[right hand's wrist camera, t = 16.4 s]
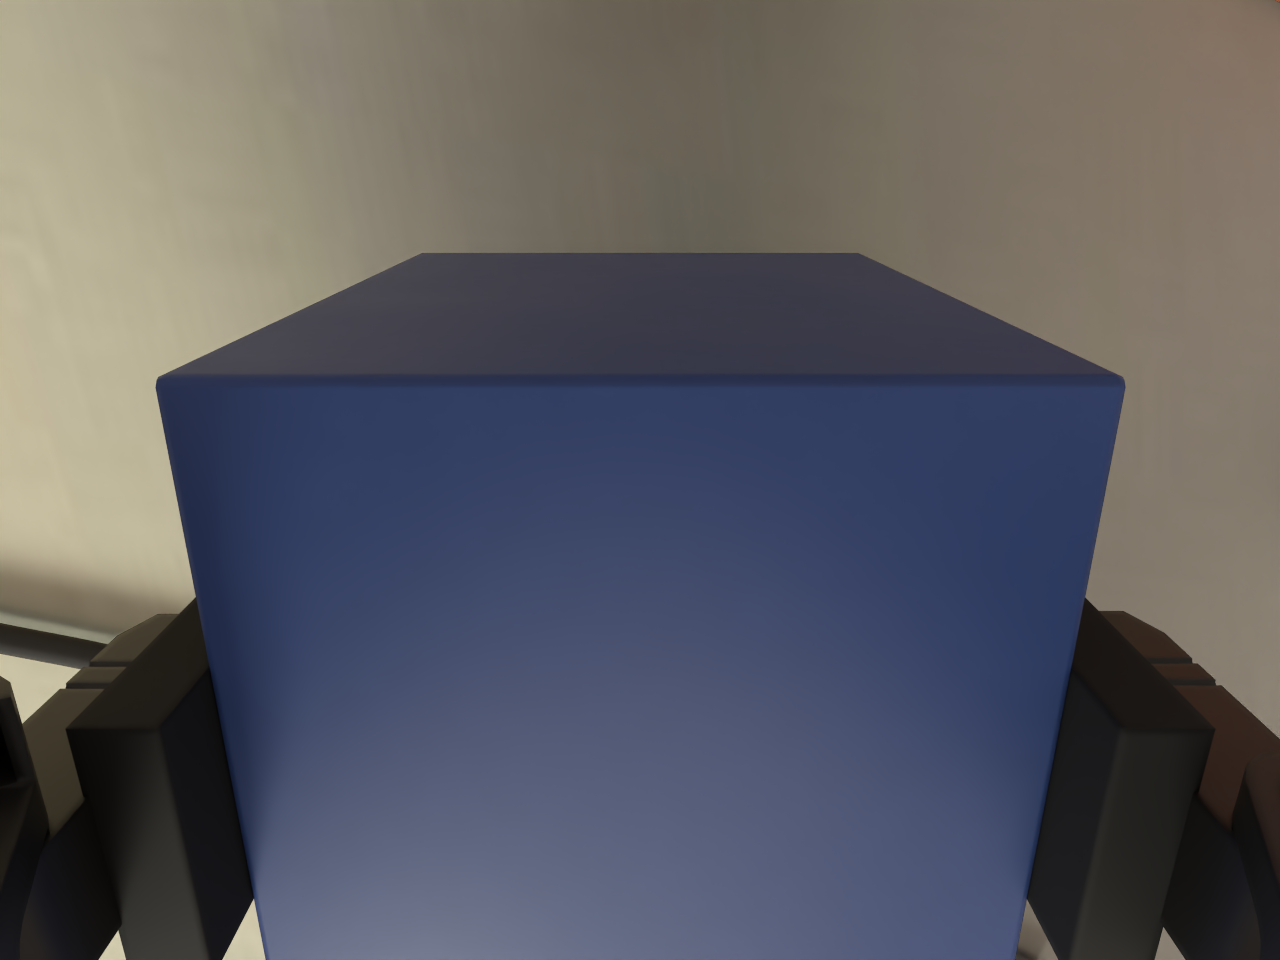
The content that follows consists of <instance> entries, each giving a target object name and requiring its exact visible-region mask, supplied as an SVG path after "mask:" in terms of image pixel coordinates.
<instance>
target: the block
mask: <svg viewBox="0 0 1280 960" xmlns="http://www.w3.org/2000/svg"><path fill="white" fill-rule="evenodd" d="M156 392H157V397H158V402H159V407H160V413H161V418H162V423H163V428H164V433H165V439H166V444H167V449H168V454H169V459H170V465H171V470H172V475H173V480H174V485H175V491H176V496H177V501H178V506H179V511H180V516H181V522H182V527H183V532H184V537H185V542H186V548H187V553H188V558H189V563H190V568H191V574H192V579H193V584H194V589H195V594H196V600H197V605H198V610H199V615H200V620H201V626H202V631H203V636H204V641H205V646H206V652H207V657H208V662H209V667H210V672H211V677H212V683H213V688H214V693H215V698H216V703H217V709H218V714H219V719H220V724H221V729H222V735H223V740H224V745H225V750H226V755H227V761H228V766H229V771H230V776H231V781H232V787H233V792H234V797H235V802H236V807H237V812H238V818H239V823H240V828H241V833H242V838H243V844H244V849H245V854H246V859H247V864H248V870H249V875H250V880H251V885H252V890H253V896H254V901H255V906H256V911H257V916H258V922H259V927H260V932H261V937H262V942H263V948H264V953H265V958H266V960H1015V957H1016V952H1017V947H1018V942H1019V936H1020V931H1021V926H1022V921H1023V916H1024V910H1025V905H1026V900H1027V895H1028V890H1029V884H1030V879H1031V874H1032V869H1033V864H1034V859H1035V853H1036V848H1037V843H1038V838H1039V833H1040V827H1041V822H1042V817H1043V812H1044V807H1045V802H1046V796H1047V791H1048V786H1049V781H1050V776H1051V770H1052V765H1053V760H1054V755H1055V750H1056V745H1057V739H1058V734H1059V729H1060V724H1061V719H1062V713H1063V708H1064V703H1065V698H1066V693H1067V688H1068V682H1069V677H1070V672H1071V667H1072V662H1073V656H1074V651H1075V646H1076V641H1077V636H1078V630H1079V625H1080V620H1081V615H1082V610H1083V605H1084V599H1085V594H1086V589H1087V584H1088V579H1089V573H1090V568H1091V563H1092V558H1093V553H1094V548H1095V542H1096V537H1097V532H1098V527H1099V522H1100V516H1101V511H1102V506H1103V501H1104V496H1105V491H1106V485H1107V480H1108V475H1109V470H1110V465H1111V459H1112V454H1113V449H1114V444H1115V439H1116V434H1117V428H1118V423H1119V418H1120V413H1121V408H1122V402H1123V397H1124V392H1125V382H1124V379H1123V377H1121V376H1119V375H1117V374H1115V373H1113V372H1111V371H1109V370H1107V369H1104V368H1102V367H1100V366H1098V365H1096V364H1094V363H1092V362H1089V361H1087V360H1085V359H1083V358H1081V357H1079V356H1077V355H1075V354H1072V353H1070V352H1068V351H1066V350H1064V349H1062V348H1060V347H1058V346H1055V345H1053V344H1051V343H1049V342H1047V341H1045V340H1043V339H1040V338H1038V337H1036V336H1034V335H1032V334H1030V333H1028V332H1026V331H1023V330H1021V329H1019V328H1017V327H1015V326H1013V325H1011V324H1008V323H1006V322H1004V321H1002V320H1000V319H998V318H996V317H994V316H991V315H989V314H987V313H985V312H983V311H981V310H979V309H976V308H974V307H972V306H970V305H968V304H966V303H964V302H962V301H959V300H957V299H955V298H953V297H951V296H949V295H947V294H944V293H942V292H940V291H938V290H936V289H934V288H932V287H930V286H927V285H925V284H923V283H921V282H919V281H917V280H915V279H912V278H910V277H908V276H906V275H904V274H902V273H900V272H898V271H895V270H893V269H891V268H889V267H887V266H885V265H883V264H881V263H878V262H876V261H874V260H872V259H870V258H868V257H866V256H863V255H861V254H859V253H421V254H419V255H417V256H415V257H413V258H411V259H409V260H406V261H404V262H402V263H400V264H398V265H396V266H394V267H391V268H389V269H387V270H385V271H383V272H381V273H379V274H377V275H374V276H372V277H370V278H368V279H366V280H364V281H362V282H360V283H357V284H355V285H353V286H351V287H349V288H347V289H345V290H343V291H340V292H338V293H336V294H334V295H332V296H330V297H328V298H326V299H323V300H321V301H319V302H317V303H315V304H313V305H311V306H309V307H306V308H304V309H302V310H300V311H298V312H296V313H294V314H292V315H289V316H287V317H285V318H283V319H281V320H279V321H277V322H274V323H272V324H270V325H268V326H266V327H264V328H262V329H260V330H257V331H255V332H253V333H251V334H249V335H247V336H245V337H243V338H240V339H238V340H236V341H234V342H232V343H230V344H228V345H226V346H223V347H221V348H219V349H217V350H215V351H213V352H211V353H209V354H206V355H204V356H202V357H200V358H198V359H196V360H194V361H192V362H189V363H187V364H185V365H183V366H181V367H179V368H177V369H175V370H172V371H170V372H168V373H166V374H164V375H162V376H160V377H158V379H157V382H156Z"/></svg>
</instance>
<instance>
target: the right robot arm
mask: <svg viewBox="0 0 1280 960" xmlns="http://www.w3.org/2000/svg"><path fill="white" fill-rule="evenodd" d="M0 654H5V655H10V656H15V657H20V658H26V659H31V660H36V661H41V662H47V663H52V664H57V665H62V666H67V667H72V668H77V669H81V670H80V671H79V672H78V673H77V674H76V675H75V676H73V677H72V678H71V679H70V680H69V681H68V682H67V683H66V689H59V690H58V691H57V692H56V693H55V694H54V695H53V696H52V697H51V698H50V699H49V700H48V701H47V702H45V703H44V704H43V705H42V706H41V707H40V708H39V709H38V710H37V711H36V712H35V713H34V714H33V715H31V716H30V717H29V718H28V719H27V720H26V721H25V722H24V723H23V724H22V722H21V719H20V715H19V712H18V708H17V704H16V701H15V697H14V694H13V690H12V687H11V683H10V682H9V681H7V680H6V679H4V678H3V677H1V676H0V960H98V959H99V958H100V956H101V955H102V954H103V952H104V951H105V949H106V948H107V946H108V945H109V943H110V942H111V940H112V939H113V937H114V936H115V934H116V933H117V931H118V930H119V934H120V938H121V942H122V945H123V949H124V953H125V957H126V960H222V959H223V957H224V955H225V953H226V951H227V949H228V947H229V945H230V944H231V942H232V940H233V938H234V936H235V934H236V932H237V930H238V928H239V926H240V924H241V922H242V920H243V918H244V916H245V914H246V913H247V911H248V909H249V907H250V905H251V903H252V901H253V899H254V896H253V890H252V885H251V880H250V875H249V870H248V864H247V859H246V854H245V849H244V844H243V838H242V833H241V828H240V823H239V818H238V812H237V807H236V802H235V797H234V792H233V787H232V781H231V776H230V771H229V766H228V761H227V755H226V750H225V745H224V740H223V735H222V729H221V724H220V719H219V714H218V709H217V703H216V698H215V693H214V688H213V683H212V677H211V672H210V667H209V662H208V657H207V652H206V646H205V641H204V636H203V631H202V626H201V620H200V615H199V610H198V605H197V600H196V598H195V599H194V600H193V601H192V602H191V603H190V604H189V605H188V606H187V607H186V608H185V609H184V610H183V611H182V612H181V613H180V614H157V615H155V616H153V617H152V618H150V619H148V620H146V621H144V622H142V623H140V624H139V625H137V626H135V627H133V628H131V629H129V630H127V631H125V632H124V633H122V634H120V635H118V636H117V637H115V638H114V639H113V640H112V641H111V642H110V643H109V644H103V643H99V642H94V641H89V640H84V639H79V638H74V637H69V636H64V635H59V634H53V633H48V632H43V631H38V630H33V629H27V628H22V627H17V626H12V625H7V624H2V623H0ZM1027 900H1028V902H1029V904H1030V905H1031V907H1032V909H1033V911H1034V913H1035V915H1036V917H1037V919H1038V921H1039V923H1040V925H1041V927H1042V929H1043V931H1044V933H1045V935H1046V936H1047V938H1048V940H1049V942H1050V944H1051V946H1052V948H1053V950H1054V952H1055V954H1056V956H1057V958H1058V960H1155V956H1156V952H1157V948H1158V944H1159V941H1160V937H1161V933H1162V929H1163V927H1164V928H1165V930H1166V931H1167V933H1168V934H1169V936H1170V937H1171V939H1172V940H1173V942H1174V943H1175V945H1176V946H1177V948H1178V949H1179V951H1180V952H1181V953H1182V955H1183V956H1184V958H1185V959H1186V960H1280V739H1279V738H1278V737H1277V736H1276V735H1275V734H1274V733H1272V732H1271V731H1270V730H1269V729H1268V728H1267V727H1266V726H1265V725H1264V724H1263V723H1262V722H1261V721H1259V720H1258V719H1257V718H1256V717H1255V716H1254V715H1253V714H1252V713H1251V712H1250V711H1249V710H1248V709H1246V708H1245V707H1244V706H1243V705H1242V704H1241V703H1240V702H1239V701H1238V700H1237V699H1236V698H1234V697H1233V696H1232V695H1231V694H1230V693H1229V692H1228V691H1227V690H1226V689H1225V688H1224V687H1223V686H1221V685H1216V683H1215V679H1214V678H1213V677H1212V676H1211V675H1210V674H1208V673H1207V672H1206V671H1205V670H1204V669H1203V668H1202V667H1201V666H1200V665H1199V664H1193V663H1192V658H1191V657H1190V656H1189V655H1188V654H1187V653H1186V652H1185V651H1183V650H1182V649H1181V648H1180V647H1179V646H1178V645H1177V644H1176V643H1175V642H1174V641H1173V640H1172V639H1170V638H1169V637H1168V636H1167V635H1166V634H1165V633H1164V632H1162V631H1160V630H1158V629H1156V628H1154V627H1152V626H1150V625H1149V624H1147V623H1145V622H1143V621H1141V620H1139V619H1137V618H1135V617H1134V616H1132V615H1130V614H1128V613H1126V612H1124V611H1098V610H1097V609H1096V608H1095V607H1094V606H1093V605H1092V604H1091V603H1090V602H1089V601H1088V600H1087V599H1086V598H1085V599H1084V605H1083V610H1082V615H1081V620H1080V625H1079V630H1078V636H1077V641H1076V646H1075V651H1074V656H1073V662H1072V667H1071V672H1070V677H1069V682H1068V688H1067V693H1066V698H1065V703H1064V708H1063V713H1062V719H1061V724H1060V729H1059V734H1058V739H1057V745H1056V750H1055V755H1054V760H1053V765H1052V770H1051V776H1050V781H1049V786H1048V791H1047V796H1046V802H1045V807H1044V812H1043V817H1042V822H1041V827H1040V833H1039V838H1038V843H1037V848H1036V853H1035V859H1034V864H1033V869H1032V874H1031V879H1030V884H1029V890H1028V895H1027Z"/></svg>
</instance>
